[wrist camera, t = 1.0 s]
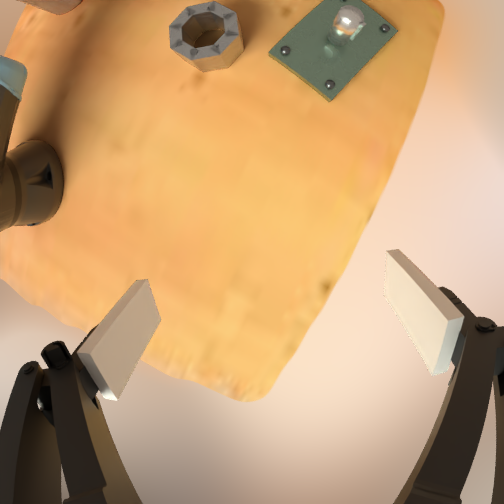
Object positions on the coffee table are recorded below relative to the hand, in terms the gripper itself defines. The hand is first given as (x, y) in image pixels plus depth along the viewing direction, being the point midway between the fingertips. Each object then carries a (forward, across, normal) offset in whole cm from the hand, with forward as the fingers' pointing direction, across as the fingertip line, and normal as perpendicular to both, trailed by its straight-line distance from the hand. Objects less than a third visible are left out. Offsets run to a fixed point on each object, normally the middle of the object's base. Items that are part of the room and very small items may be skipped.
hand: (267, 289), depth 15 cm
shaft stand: (+24, +12, +21) cm, 34 cm away
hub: (+24, -4, +23) cm, 34 cm away
